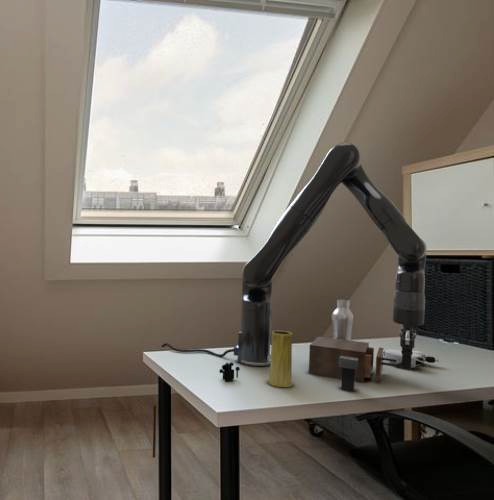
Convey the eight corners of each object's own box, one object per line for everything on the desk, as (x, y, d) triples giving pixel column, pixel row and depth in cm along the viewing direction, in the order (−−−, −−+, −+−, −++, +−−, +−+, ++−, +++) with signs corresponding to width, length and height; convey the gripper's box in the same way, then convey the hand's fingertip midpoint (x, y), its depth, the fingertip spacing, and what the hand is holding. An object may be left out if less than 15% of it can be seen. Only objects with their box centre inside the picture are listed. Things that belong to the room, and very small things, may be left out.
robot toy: (402, 360, 163) (376, 361, 155) (404, 347, 163) (377, 348, 155) (441, 369, 152) (414, 371, 145) (442, 355, 152) (415, 356, 145)
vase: (280, 388, 126) (282, 335, 126) (263, 382, 131) (265, 331, 131) (296, 386, 129) (298, 333, 128) (279, 379, 134) (281, 329, 134)
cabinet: (367, 370, 146) (368, 342, 146) (363, 382, 133) (365, 352, 133) (316, 362, 154) (317, 336, 153) (308, 373, 141) (309, 344, 141)
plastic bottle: (355, 364, 153) (357, 302, 152) (332, 362, 154) (334, 301, 154) (349, 359, 159) (351, 299, 159) (328, 357, 161) (330, 298, 160)
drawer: (401, 373, 141) (402, 350, 140) (400, 384, 129) (401, 359, 129) (333, 363, 150) (334, 341, 150) (327, 373, 139) (328, 349, 139)
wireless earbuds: (220, 382, 130) (221, 364, 130) (214, 380, 132) (215, 362, 132) (240, 379, 133) (241, 362, 133) (234, 377, 135) (235, 359, 135)
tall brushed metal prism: (338, 389, 127) (339, 357, 127) (339, 386, 129) (340, 355, 129) (356, 392, 125) (357, 360, 124) (357, 389, 127) (358, 358, 127)
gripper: (394, 303, 141) (391, 360, 142) (392, 308, 130) (390, 371, 131) (424, 305, 137) (421, 364, 138) (425, 311, 126) (422, 375, 127)
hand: (406, 367), depth 134 cm, fingers closed
